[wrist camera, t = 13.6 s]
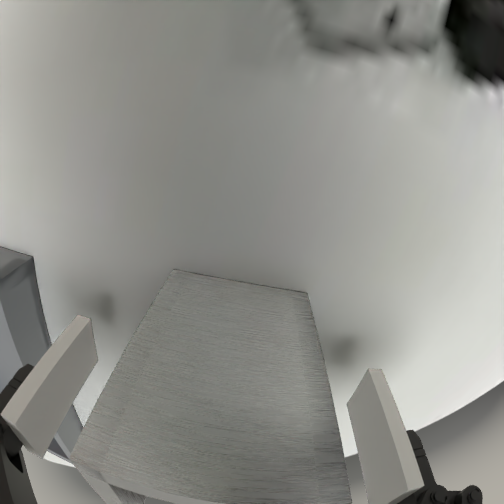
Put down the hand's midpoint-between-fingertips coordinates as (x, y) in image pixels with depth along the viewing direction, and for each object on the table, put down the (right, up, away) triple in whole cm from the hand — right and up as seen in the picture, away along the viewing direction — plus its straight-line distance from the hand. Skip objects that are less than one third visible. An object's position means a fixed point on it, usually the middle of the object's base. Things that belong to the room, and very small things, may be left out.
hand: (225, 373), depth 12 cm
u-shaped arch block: (0, +1, +3) cm, 3 cm away
